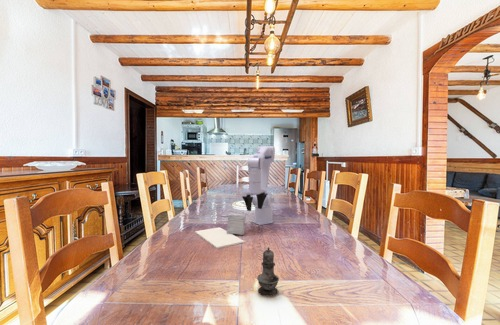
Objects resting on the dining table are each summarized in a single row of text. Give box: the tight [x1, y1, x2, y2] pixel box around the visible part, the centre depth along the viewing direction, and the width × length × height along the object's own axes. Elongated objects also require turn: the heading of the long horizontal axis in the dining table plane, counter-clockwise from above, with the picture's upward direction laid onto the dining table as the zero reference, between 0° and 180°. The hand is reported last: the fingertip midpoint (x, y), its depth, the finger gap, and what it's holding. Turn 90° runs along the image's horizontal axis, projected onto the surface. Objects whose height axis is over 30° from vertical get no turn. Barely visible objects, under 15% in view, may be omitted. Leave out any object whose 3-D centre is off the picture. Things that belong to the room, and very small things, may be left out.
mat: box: [194, 227, 246, 249], centre depth 110 cm, size 13×24×1 cm, turn 33°
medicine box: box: [226, 212, 247, 236], centre depth 115 cm, size 8×4×9 cm, turn 85°
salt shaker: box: [256, 247, 280, 298], centre depth 66 cm, size 6×6×12 cm
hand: (254, 209), depth 120 cm, fingers open, 7 cm apart
